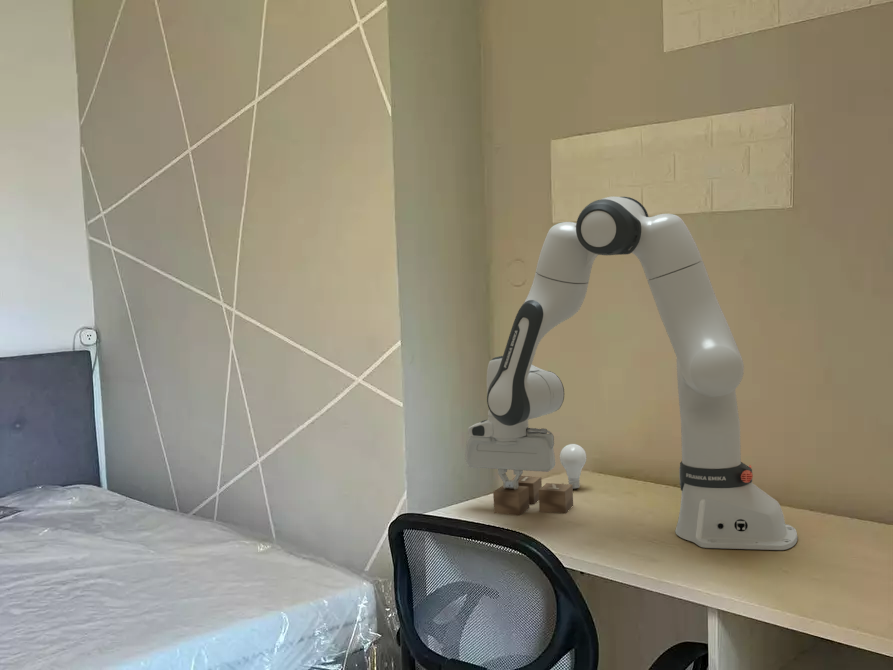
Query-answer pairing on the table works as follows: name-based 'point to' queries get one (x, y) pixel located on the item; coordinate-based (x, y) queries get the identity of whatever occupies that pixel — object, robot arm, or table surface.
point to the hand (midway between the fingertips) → (511, 488)
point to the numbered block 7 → (555, 498)
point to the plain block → (511, 500)
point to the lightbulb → (573, 462)
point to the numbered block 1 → (531, 487)
